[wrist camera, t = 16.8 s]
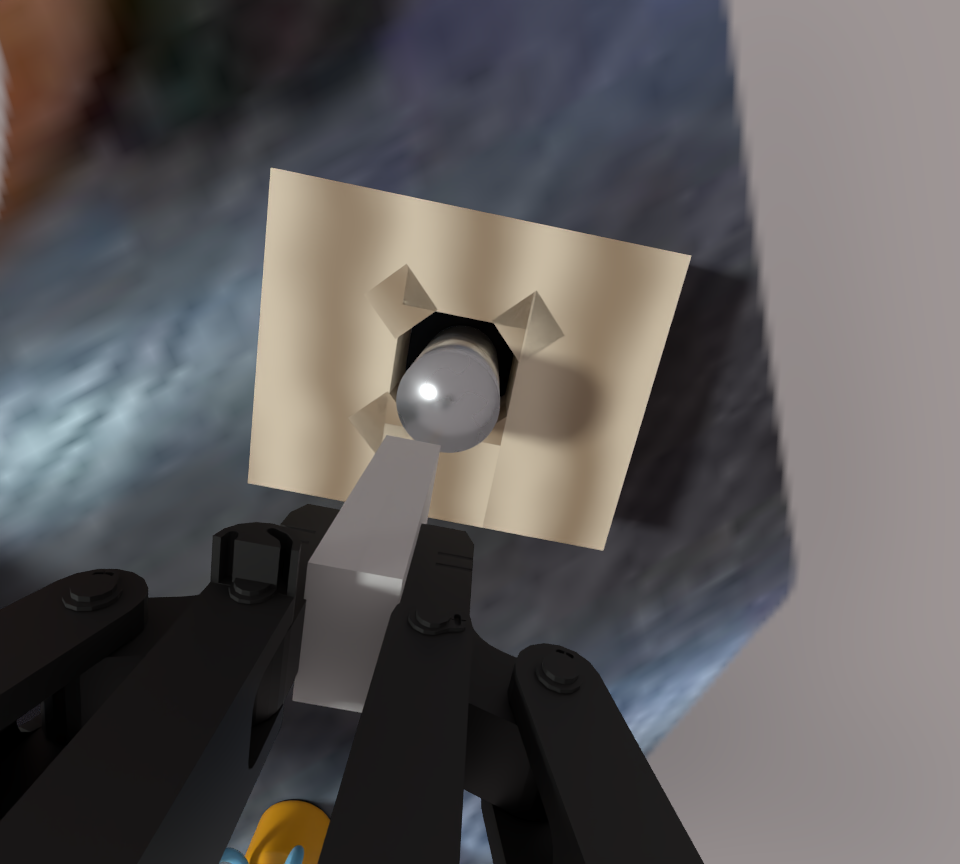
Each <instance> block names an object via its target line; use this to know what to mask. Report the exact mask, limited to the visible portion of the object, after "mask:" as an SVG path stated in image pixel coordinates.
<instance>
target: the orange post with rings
mask: <svg viewBox="0 0 960 864" xmlns="http://www.w3.org/2000/svg"><path fill="white" fill-rule="evenodd" d="M329 822H330V819H329V818H328V816H327V815H326V814H325V813H324V812H323V811H322V810H321V809H319V808H318V807H316V806H314V805H312V804H310V803H307V802H304V801H298V800H288V801H282V802H278V803H276V804H274V805H272V806H271V807H269V808H268V809H267V810H266V811H265V812H264V814H263V815H262V817H261V819H260V821H259V824H258V826H257V828H256V831H255V833H254V835H253V838H252V840H251V843H250V845H249V847H248V850H247V852H246V854H245V856H244V855H243V854H242V853H241V852H240V851H238V850H236V849H234V848H226V849H225V851H224V853H223V856H222V858H221V860H220V862H219V863H221V862H224V861H226V862H230V863H231V864H317V863H318V860H319V856H320V853H321V850H322V846H323V843H324V839H325V836H326V833H327V829H328V826H329Z"/></svg>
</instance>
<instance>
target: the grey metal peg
mask: <svg viewBox="0 0 960 864" xmlns="http://www.w3.org/2000/svg"><path fill="white" fill-rule="evenodd" d="M396 406H397V412H398V416H399V419H400V421H401V423H402V425H403V427H404V429H405V430H406V432H407V433H408V434H409V435H410V436H411V437H412V438H413V439H414V440H415V441H421V442H426V443H431V444H436V445H441V448H440V452H444V453H455V452H461V451H465V450H468V449H470V448H473V447H474V446H476V445H478V444H479V443H481V442H482V441H483V440H484V439H485V438H486V437H487V436H488V435H489V434H490V433H491V431H492V430H493V428H494V426H495V424H496V422H497V419H498V416H499V411H500V389H499V368H498V355H497V351H496V349H495V346H494V344H493V343H492V341H491V340H490V339H489V337H488V336H487V335H486V334H484V333H483V332H482V331H480V330H478V329H476V328H474V327H470V326H465V325H457V326H452V327H448V328H446V329H444V330H442V331H440V332H439V333H438V334H437V335H436V336H435V337H434V338H433V339H432V340H431V341H430V343H429V344H428V345H427V346H426V348H425V349H424V350H423V351H422V353H421V354H420V355H419V356H418V358H417V359H416V360H415V361H414V363H413V364H412V365H411V366H410V368H409V369H408V370H407V371H406V373H405V374H404V376H403V377H402V379H401V381H400V384H399V387H398V390H397V397H396Z"/></svg>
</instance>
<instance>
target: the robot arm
mask: <svg viewBox="0 0 960 864" xmlns="http://www.w3.org/2000/svg"><path fill="white" fill-rule="evenodd" d="M440 448H441V445H436V444H431V443H426V442H421V441H415V440H410V439H405V438H400V437H394V436H389V435H386V437H385V438H384V440H383V442H382V443H381V445H380V447H379V448H378V450H377V451H376V453H375V455H374V456H373V458H372V459H371V461H370V463H369V464H368V466H367V468H366V469H365V471H364V472H363V474H362V476H361V477H360V479H359V480H358V482H357V484H356V485H355V487H354V489H353V490H352V492H351V493H350V495H349V497H348V498H347V500H346V501H345V503H344V505H343V506H342V508H341V510H338V509H332V508H327V507H322V506H316V505H311V504H307V505H305V506H303V507H301V508H299V509H297V510H295V511H292V512H290V513H289V515H288V516H287V517H286V518H285V520H284V521H283V522H282V523H281V525H280V526H279V525H276V524H271V523H259V522H254V523H244V524H237V525H234V526H231V527H228V528H224V529H223V530H221V531H219V532H218V533H216V534H215V535H213V543H212V562H211V582H210V583H209V584H208V586H207V587H206V588H205V589H204V590H203V591H202V592H201V594H200V595H195V596H184V597H157V598H148V587H147V584H146V582H145V580H144V579H143V578H142V577H140V576H138V575H137V574H135V573H133V572H129V571H124V570H119V569H96V570H91V571H86V572H81V573H76V574H73V575H71V576H68V577H66V578H63V579H60V580H58V581H56V582H54V583H52V584H50V585H48V586H46V587H44V588H42V589H40V590H38V591H36V592H34V593H32V594H30V595H28V596H26V597H24V598H22V599H20V600H18V601H16V602H14V603H12V604H10V605H9V606H7V607H5V608H3V609H1V610H0V864H219V862H220V860H221V858H222V856H223V853H224V851H225V849H226V847H227V844H228V842H229V840H230V838H231V836H232V833H233V831H234V829H235V827H236V825H237V822H238V820H239V818H240V816H241V814H242V811H243V809H244V807H245V805H246V803H247V800H248V798H249V796H250V794H251V792H252V789H253V787H254V785H255V783H256V781H257V778H258V776H259V774H260V772H261V770H262V767H263V765H264V763H265V761H266V758H267V756H268V754H269V752H270V750H271V747H272V745H273V743H274V741H275V739H276V736H277V734H278V732H279V730H280V728H281V723H282V718H283V712H284V703H285V698H286V696H287V694H288V692H289V690H290V688H291V685H292V683H293V681H294V679H295V682H294V690H293V699H292V701H296V702H302V703H308V704H314V705H320V706H325V707H331V708H337V709H343V710H349V711H355V712H360V713H362V714H361V717H360V721H359V724H358V727H357V731H356V734H355V738H354V741H353V744H352V748H351V751H350V755H349V758H348V761H347V765H346V768H345V772H344V775H343V778H342V782H341V785H340V789H339V792H338V795H337V799H336V802H335V805H334V809H333V812H332V816H331V819H330V822H329V826H328V829H327V833H326V836H325V839H324V843H323V846H322V850H321V853H320V856H319V860H318V863H317V864H459V861H460V844H461V826H462V809H463V792H464V789H465V790H466V791H468V792H470V793H472V794H474V795H476V796H478V797H480V798H481V809H482V813H483V818H484V823H485V827H486V832H487V836H488V841H489V845H490V850H491V855H492V859H493V864H704V863H703V861H702V859H701V857H700V855H699V854H698V852H697V850H696V848H695V846H694V845H693V843H692V841H691V839H690V837H689V836H688V834H687V832H686V830H685V829H684V827H683V825H682V823H681V821H680V819H679V818H678V816H677V814H676V812H675V810H674V809H673V807H672V805H671V803H670V801H669V800H668V798H667V796H666V794H665V792H664V791H663V789H662V787H661V785H660V783H659V781H658V780H657V778H656V776H655V774H654V773H653V771H652V769H651V767H650V765H649V763H648V762H647V760H646V758H645V756H644V754H643V752H642V751H641V749H640V747H639V745H638V743H637V742H636V740H635V738H634V736H633V734H632V733H631V731H630V729H629V727H628V725H627V724H626V722H625V720H624V718H623V716H622V715H621V713H620V711H619V709H618V707H617V706H616V704H615V702H614V700H613V698H612V697H611V695H610V693H609V691H608V689H607V687H606V686H605V684H604V682H603V680H602V678H601V677H600V675H599V673H598V672H597V671H596V670H595V668H594V667H593V666H592V665H591V663H590V662H589V661H587V660H586V659H585V658H583V657H582V656H580V655H579V654H578V653H576V652H574V651H572V650H569V649H567V648H564V647H562V646H559V645H552V644H545V643H543V644H537V645H530V646H529V647H527V648H525V649H524V650H522V651H521V652H520V653H519V655H518V657H517V658H516V657H514V656H511V655H509V654H507V653H504V652H502V651H500V650H498V649H496V648H494V647H492V646H491V645H489V644H488V643H487V642H485V641H484V640H483V639H481V638H480V636H479V635H478V634H477V633H476V632H475V631H474V629H473V627H472V622H471V618H470V615H469V614H470V598H471V583H472V568H473V552H474V544H473V542H472V541H471V539H470V538H469V536H468V534H467V533H466V531H460V530H455V529H450V528H444V527H439V526H434V525H428V524H427V519H428V513H429V508H430V502H431V497H432V491H433V486H434V480H435V475H436V470H437V464H438V459H439V453H440ZM38 704H40V705H41V714H39V715H38V716H36V717H35V718H34V719H32V720H31V721H29V722H27V723H25V724H23V725H21V726H19V727H18V726H17V723H16V720H17V719H18V718H20V717H21V716H23V715H24V714H26V713H27V712H28V711H30V710H31V709H33V708H34V707H35V706H37V705H38Z"/></svg>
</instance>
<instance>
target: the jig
mask: <svg viewBox="0 0 960 864" xmlns="http://www.w3.org/2000/svg"><path fill="white" fill-rule="evenodd" d="M690 259H691V256H690V255H685V254H680V253H676V252H671V251H666V250H661V249H656V248H652V247H647V246H642V245H637V244H633V243H628V242H623V241H618V240H614V239H609V238H604V237H599V236H595V235H590V234H585V233H580V232H575V231H571V230H566V229H561V228H556V227H552V226H547V225H542V224H537V223H533V222H528V221H523V220H518V219H514V218H509V217H504V216H499V215H495V214H490V213H485V212H480V211H475V210H471V209H466V208H461V207H456V206H452V205H447V204H442V203H437V202H433V201H428V200H423V199H418V198H414V197H409V196H404V195H399V194H394V193H390V192H385V191H380V190H375V189H371V188H366V187H361V186H356V185H352V184H347V183H342V182H337V181H333V180H328V179H323V178H318V177H313V176H309V175H304V174H299V173H294V172H290V171H285V170H280V169H275V168H271V173H270V186H269V200H268V214H267V227H266V241H265V255H264V269H263V282H262V296H261V310H260V324H259V337H258V351H257V365H256V378H255V392H254V406H253V420H252V433H251V447H250V461H249V475H248V483H250V484H255V485H261V486H266V487H271V488H277V489H282V490H287V491H292V492H298V493H303V494H308V495H313V496H319V497H324V498H329V499H334V500H340V501H346V500H347V498H348V497H349V495H350V493H351V492H352V490H353V489H354V487H355V485H356V484H357V482H358V480H359V479H360V477H361V476H362V474H363V472H364V471H365V469H366V468H367V466H368V464H369V463H370V461H371V459H372V458H373V456H374V455H375V453H376V451H377V450H378V448H379V447H380V445H381V443H382V442H383V440H384V438H385V437H386V435H389V436H394V437H400V438H405V439H410V440H414V439H413V438H412V437H411V436H410V435H409V434H408V433H407V432H406V430H405V429H404V427H403V425H402V423H401V421H400V419H399V416H398V412H397V406H396V397H397V390H398V387H399V384H400V381H401V379H402V377H403V376H404V374H405V369H406V362H407V356H408V350H409V343H410V337H411V331H412V327H414V326H415V325H416V324H418V323H419V322H421V321H422V320H424V319H425V318H426V317H428V316H429V315H431V314H432V313H434V312H435V311H437V312H442V313H446V314H451V315H456V316H461V317H466V318H471V319H476V320H481V321H486V322H491V323H494V324H495V326H496V328H497V329H498V331H499V332H500V334H501V335H502V337H503V338H504V340H505V341H506V343H507V344H508V346H509V347H510V349H511V351H512V352H513V354H514V355H513V360H512V365H511V369H510V374H509V378H508V383H507V388H506V392H505V395H503V396H502V397H500V411H499V416H498V419H497V422H496V424H495V426H494V428H493V430H492V431H491V433H490V434H489V435H488V436H487V437H486V438H485V439H484V440H483V441H482V442H481V443H479V444H478V445H476V446H474V447H473V448H470V449H468V450H465V451H461V452H455V453H444V452H440V453H439V459H438V464H437V470H436V475H435V480H434V486H433V491H432V497H431V502H430V508H429V513H428V517H429V518H435V519H440V520H445V521H450V522H456V523H461V524H466V525H472V526H477V527H482V528H487V529H493V530H498V531H503V532H508V533H514V534H519V535H524V536H529V537H535V538H540V539H545V540H551V541H556V542H561V543H566V544H572V545H577V546H582V547H587V548H593V549H598V550H603V549H604V546H605V543H606V539H607V536H608V533H609V529H610V526H611V523H612V519H613V516H614V513H615V509H616V506H617V503H618V499H619V496H620V493H621V489H622V486H623V483H624V479H625V476H626V473H627V469H628V466H629V463H630V459H631V456H632V453H633V449H634V446H635V443H636V439H637V436H638V433H639V429H640V426H641V423H642V419H643V416H644V412H645V409H646V406H647V402H648V399H649V396H650V392H651V389H652V386H653V382H654V379H655V376H656V372H657V369H658V366H659V362H660V359H661V356H662V352H663V349H664V346H665V342H666V339H667V336H668V332H669V329H670V326H671V322H672V319H673V316H674V312H675V309H676V306H677V302H678V299H679V296H680V292H681V289H682V286H683V282H684V279H685V276H686V272H687V269H688V266H689V262H690Z"/></svg>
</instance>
